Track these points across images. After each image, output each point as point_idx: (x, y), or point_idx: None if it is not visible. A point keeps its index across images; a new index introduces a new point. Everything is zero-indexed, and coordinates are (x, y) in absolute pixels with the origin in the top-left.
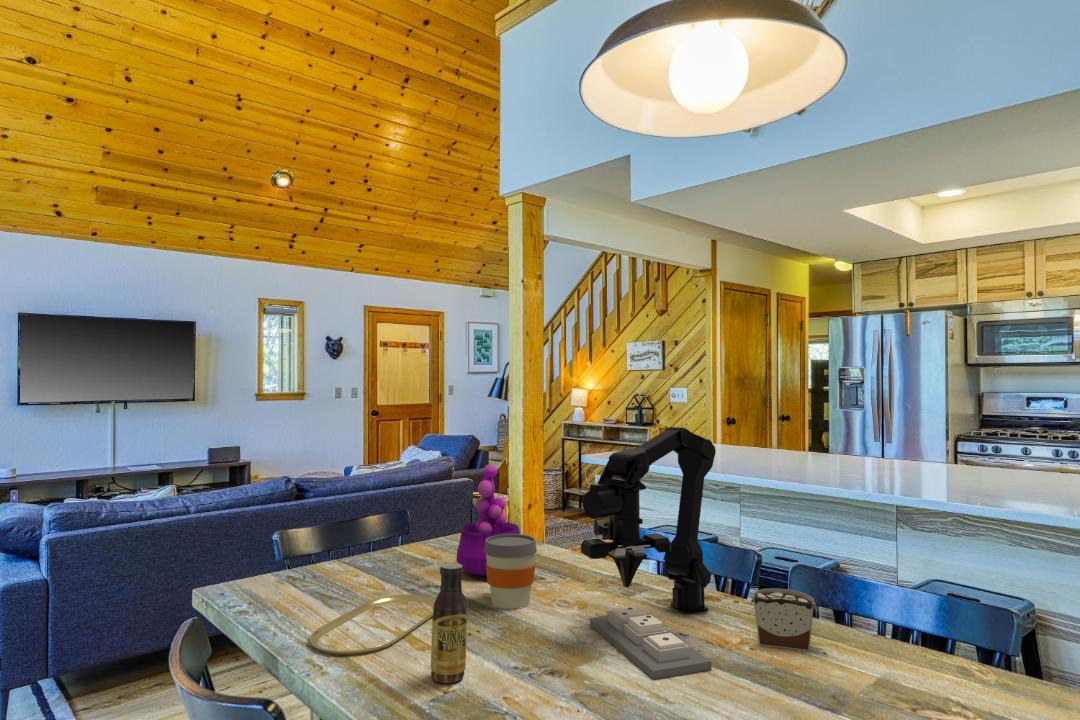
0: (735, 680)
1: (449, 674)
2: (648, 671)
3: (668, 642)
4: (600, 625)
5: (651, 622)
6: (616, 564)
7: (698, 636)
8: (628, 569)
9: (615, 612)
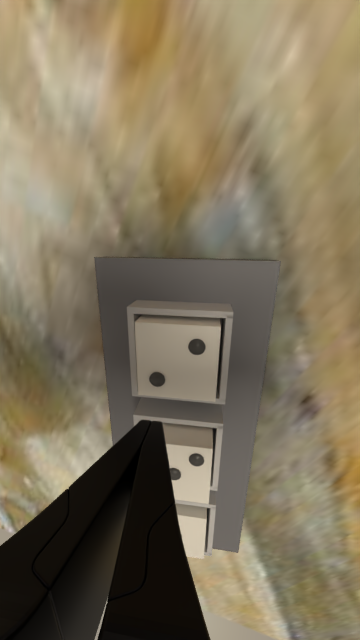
0: (246, 566)
1: None
2: None
3: None
4: (105, 323)
5: (181, 490)
6: (5, 556)
7: (334, 429)
8: (93, 624)
9: (137, 350)
